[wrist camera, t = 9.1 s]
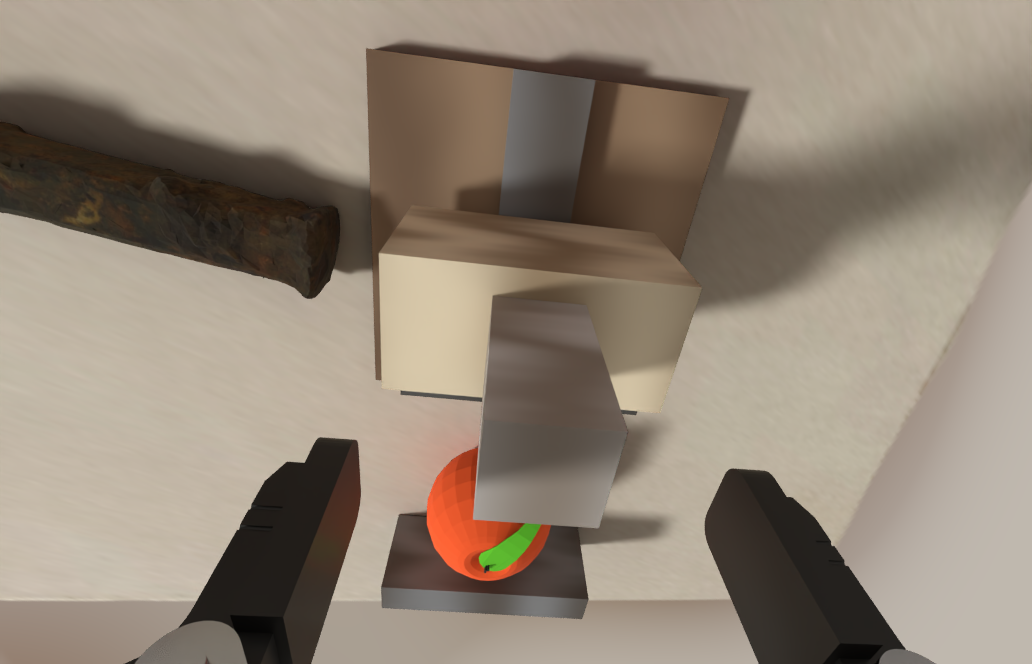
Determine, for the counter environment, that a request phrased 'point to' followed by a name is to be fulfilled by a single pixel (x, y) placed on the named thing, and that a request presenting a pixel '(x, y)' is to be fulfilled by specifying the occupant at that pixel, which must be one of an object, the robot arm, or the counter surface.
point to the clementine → (477, 528)
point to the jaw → (534, 346)
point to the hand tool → (167, 211)
